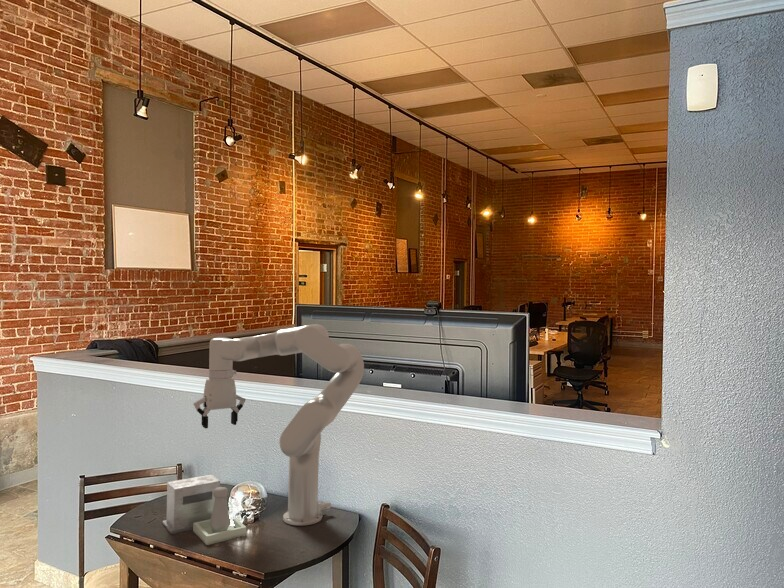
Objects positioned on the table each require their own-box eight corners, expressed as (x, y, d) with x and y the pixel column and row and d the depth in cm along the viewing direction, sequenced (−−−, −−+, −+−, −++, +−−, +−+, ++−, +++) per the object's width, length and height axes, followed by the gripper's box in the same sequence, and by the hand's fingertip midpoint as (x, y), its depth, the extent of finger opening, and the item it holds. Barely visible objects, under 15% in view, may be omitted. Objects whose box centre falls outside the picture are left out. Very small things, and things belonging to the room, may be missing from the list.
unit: (212, 512, 186) (213, 473, 186) (223, 522, 178) (224, 481, 178) (162, 523, 177) (163, 481, 177) (171, 534, 169) (172, 490, 169)
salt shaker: (233, 531, 170) (234, 488, 170) (216, 537, 166) (217, 492, 166) (222, 525, 174) (223, 483, 174) (206, 531, 170) (207, 488, 170)
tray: (231, 522, 178) (231, 514, 178) (246, 535, 169) (246, 526, 169) (193, 531, 171) (193, 522, 171) (206, 545, 162) (206, 536, 162)
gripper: (241, 371, 197) (240, 421, 197) (191, 375, 186) (190, 427, 186) (249, 374, 191) (248, 424, 190) (198, 377, 180) (197, 431, 180)
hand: (219, 425), depth 188 cm, fingers open, 9 cm apart
